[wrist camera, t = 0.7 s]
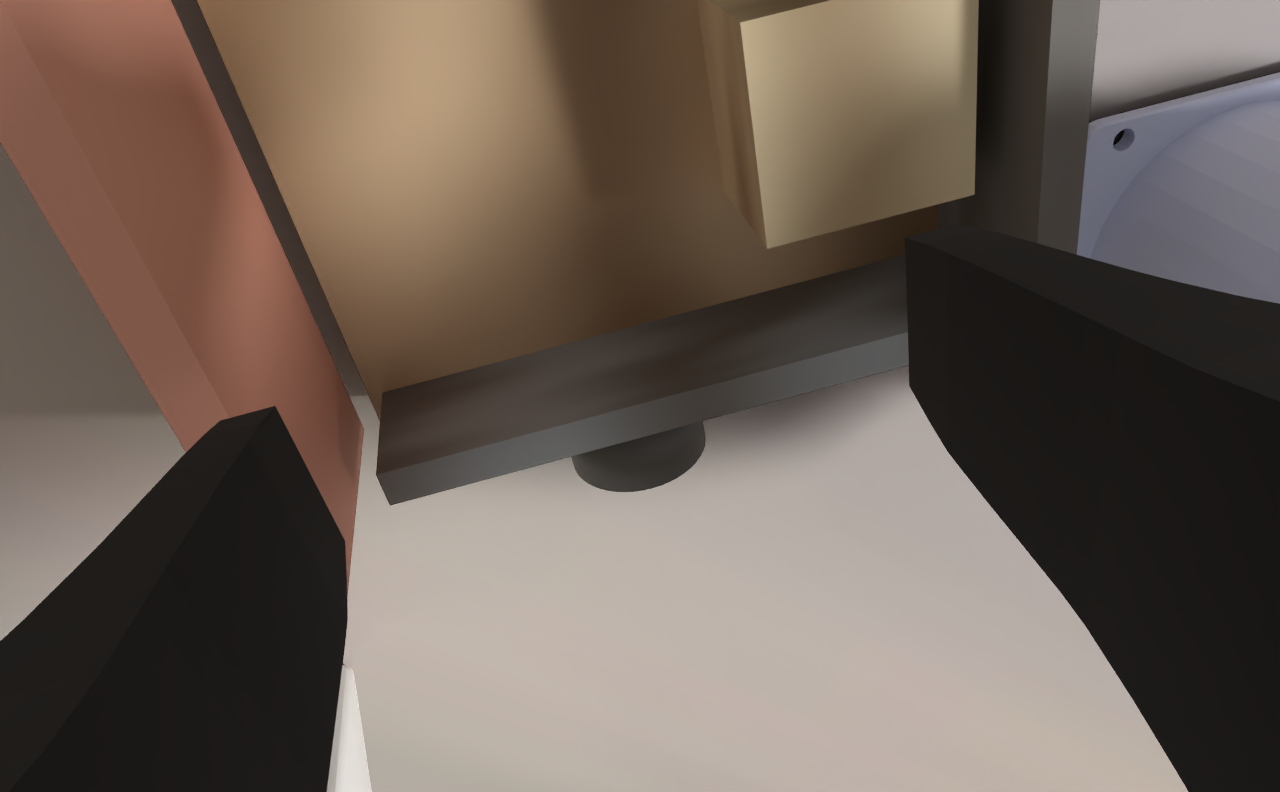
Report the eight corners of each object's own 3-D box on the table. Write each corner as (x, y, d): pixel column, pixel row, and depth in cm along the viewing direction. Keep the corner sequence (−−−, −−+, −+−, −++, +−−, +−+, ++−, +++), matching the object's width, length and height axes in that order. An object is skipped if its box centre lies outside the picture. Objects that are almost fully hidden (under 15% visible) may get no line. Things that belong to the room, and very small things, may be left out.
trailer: (947, -468, 15) (1153, -572, 11) (946, 327, 24) (1059, 444, 20) (96, -281, 14) (-43, -312, 10) (415, 470, 23) (411, 624, 19)
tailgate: (123, -104, 15) (-30, -52, 10) (364, 429, 21) (344, 626, 16) (73, -92, 15) (-106, -35, 10) (329, 438, 21) (298, 640, 16)
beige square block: (900, -61, 17) (979, -37, 15) (905, 144, 20) (974, 194, 17) (695, -11, 17) (740, 22, 15) (724, 190, 19) (767, 248, 17)
